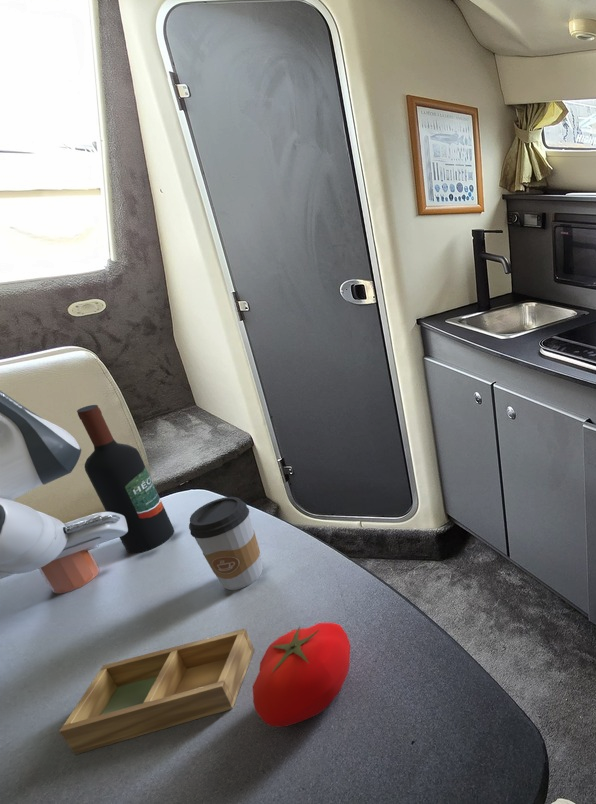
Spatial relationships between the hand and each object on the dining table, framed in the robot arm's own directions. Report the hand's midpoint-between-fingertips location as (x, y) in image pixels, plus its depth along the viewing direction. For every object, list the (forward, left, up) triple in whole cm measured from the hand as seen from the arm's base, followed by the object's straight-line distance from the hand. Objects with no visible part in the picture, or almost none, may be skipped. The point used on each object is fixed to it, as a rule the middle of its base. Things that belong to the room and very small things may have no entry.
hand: (63, 555), depth 89 cm
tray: (+28, -33, -5) cm, 44 cm away
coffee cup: (+30, -11, -6) cm, 33 cm away
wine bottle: (+8, +7, -6) cm, 12 cm away
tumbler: (0, -1, -5) cm, 5 cm away
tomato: (+47, -39, -6) cm, 61 cm away
